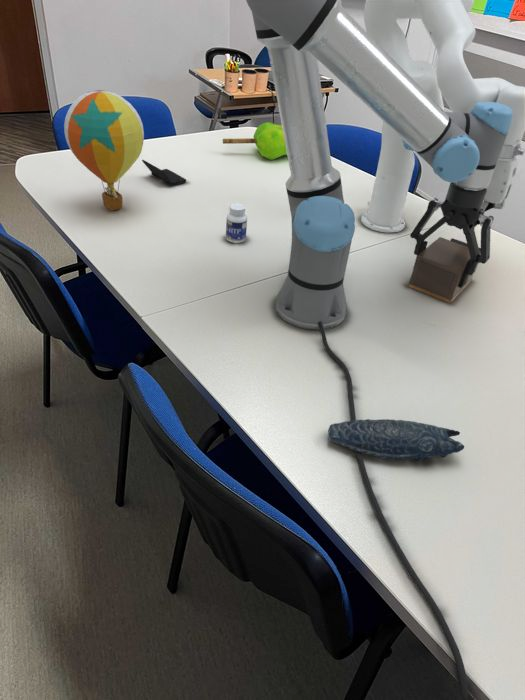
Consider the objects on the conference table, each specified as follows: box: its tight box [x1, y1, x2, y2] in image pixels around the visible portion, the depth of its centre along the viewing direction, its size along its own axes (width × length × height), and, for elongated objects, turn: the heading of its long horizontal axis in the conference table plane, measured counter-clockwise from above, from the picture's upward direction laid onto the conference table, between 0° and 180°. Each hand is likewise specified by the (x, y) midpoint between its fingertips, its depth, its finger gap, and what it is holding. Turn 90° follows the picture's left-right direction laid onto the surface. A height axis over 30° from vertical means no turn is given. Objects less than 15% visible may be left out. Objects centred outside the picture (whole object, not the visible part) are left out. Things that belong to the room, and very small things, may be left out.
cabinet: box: [407, 236, 481, 304], centre depth 123 cm, size 13×11×8 cm
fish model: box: [327, 418, 465, 461], centre depth 82 cm, size 7×21×5 cm, turn 84°
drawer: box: [450, 237, 481, 251], centre depth 127 cm, size 18×9×6 cm, turn 142°
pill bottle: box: [225, 203, 248, 244], centre depth 133 cm, size 5×5×9 cm
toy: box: [63, 89, 145, 212], centre depth 136 cm, size 20×20×30 cm
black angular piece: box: [141, 159, 187, 187], centre depth 162 cm, size 12×7×10 cm
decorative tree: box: [222, 121, 287, 161], centre depth 186 cm, size 18×10×30 cm
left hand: (438, 276), depth 122 cm, fingers closed on cabinet, 11 cm apart
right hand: (472, 225), depth 126 cm, fingers closed
